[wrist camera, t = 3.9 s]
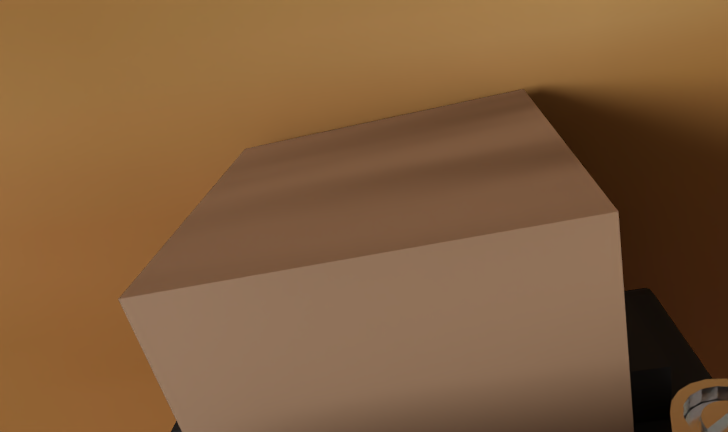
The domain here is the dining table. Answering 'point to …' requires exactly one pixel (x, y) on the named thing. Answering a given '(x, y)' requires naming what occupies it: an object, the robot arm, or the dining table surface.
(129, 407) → the dining table surface
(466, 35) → the dining table surface
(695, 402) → the robot arm
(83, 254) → the dining table surface
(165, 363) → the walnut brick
